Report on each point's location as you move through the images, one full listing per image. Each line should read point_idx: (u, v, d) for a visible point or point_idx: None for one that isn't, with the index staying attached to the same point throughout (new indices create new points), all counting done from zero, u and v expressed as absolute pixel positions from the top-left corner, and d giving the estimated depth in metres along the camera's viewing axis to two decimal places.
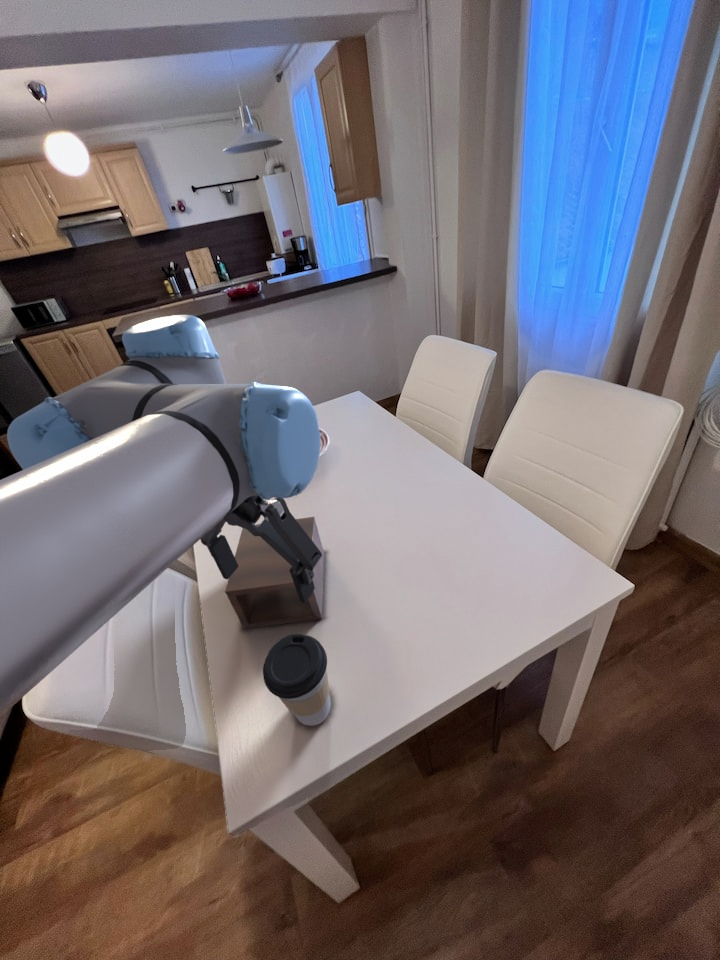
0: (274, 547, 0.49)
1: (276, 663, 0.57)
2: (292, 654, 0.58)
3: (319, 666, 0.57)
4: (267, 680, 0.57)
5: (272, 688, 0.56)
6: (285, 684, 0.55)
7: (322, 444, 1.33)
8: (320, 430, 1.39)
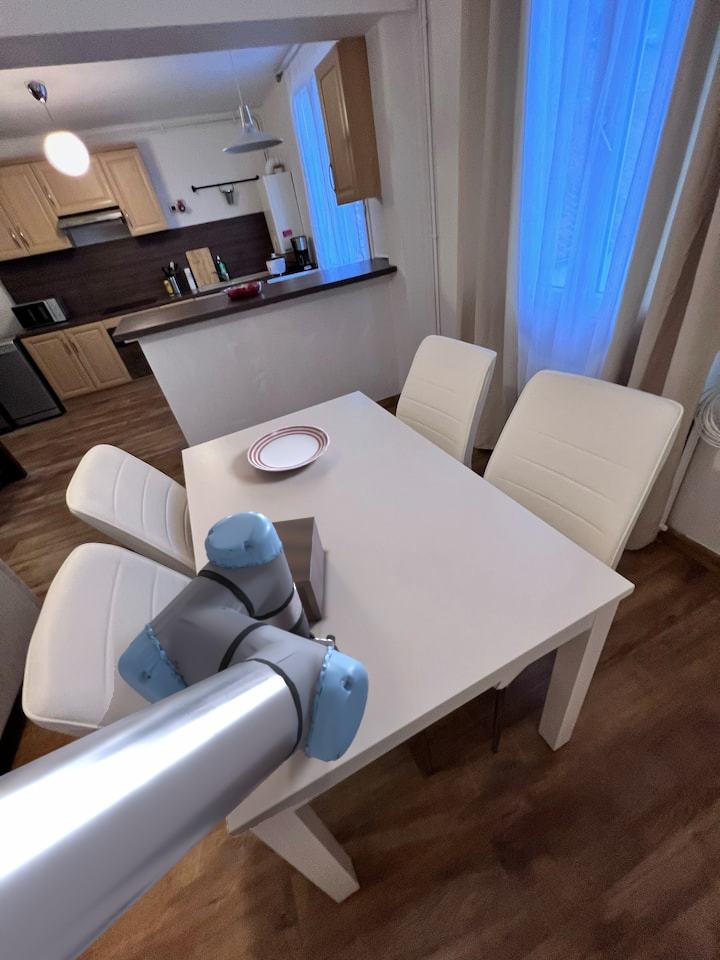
0: None
1: None
2: None
3: None
4: None
5: None
6: None
7: (322, 444, 1.33)
8: (320, 430, 1.39)
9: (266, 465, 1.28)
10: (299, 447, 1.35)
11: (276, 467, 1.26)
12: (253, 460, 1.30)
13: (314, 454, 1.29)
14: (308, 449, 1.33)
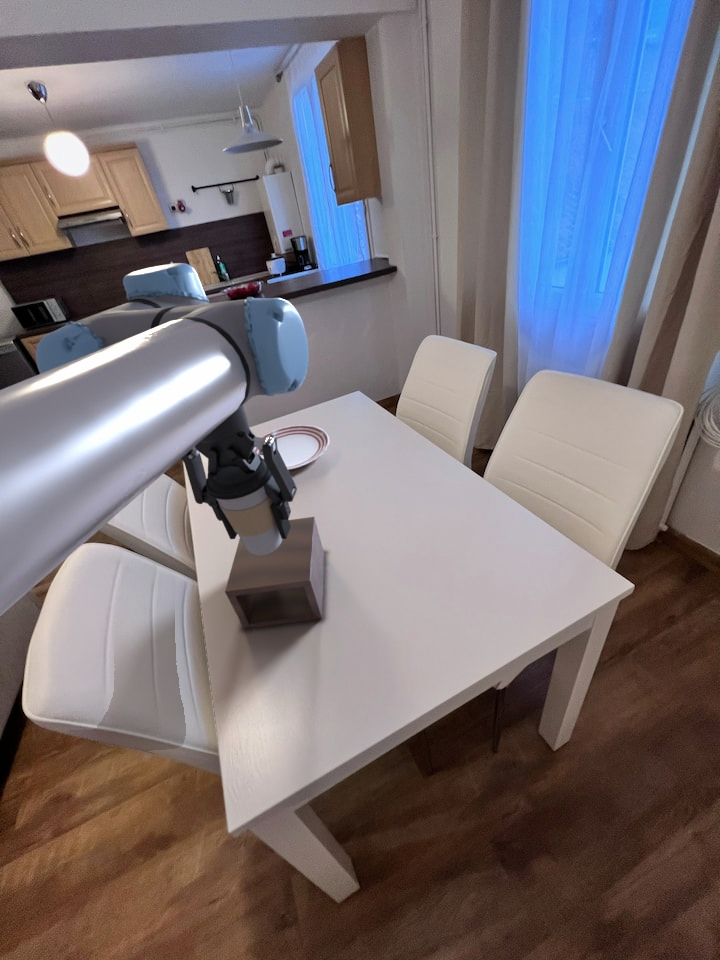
0: None
1: (219, 472, 0.56)
2: None
3: (262, 473, 0.56)
4: (209, 486, 0.56)
5: (213, 491, 0.55)
6: (225, 483, 0.54)
7: (322, 444, 1.33)
8: (320, 430, 1.39)
9: None
10: (299, 447, 1.35)
11: None
12: None
13: (314, 454, 1.29)
14: (308, 449, 1.33)
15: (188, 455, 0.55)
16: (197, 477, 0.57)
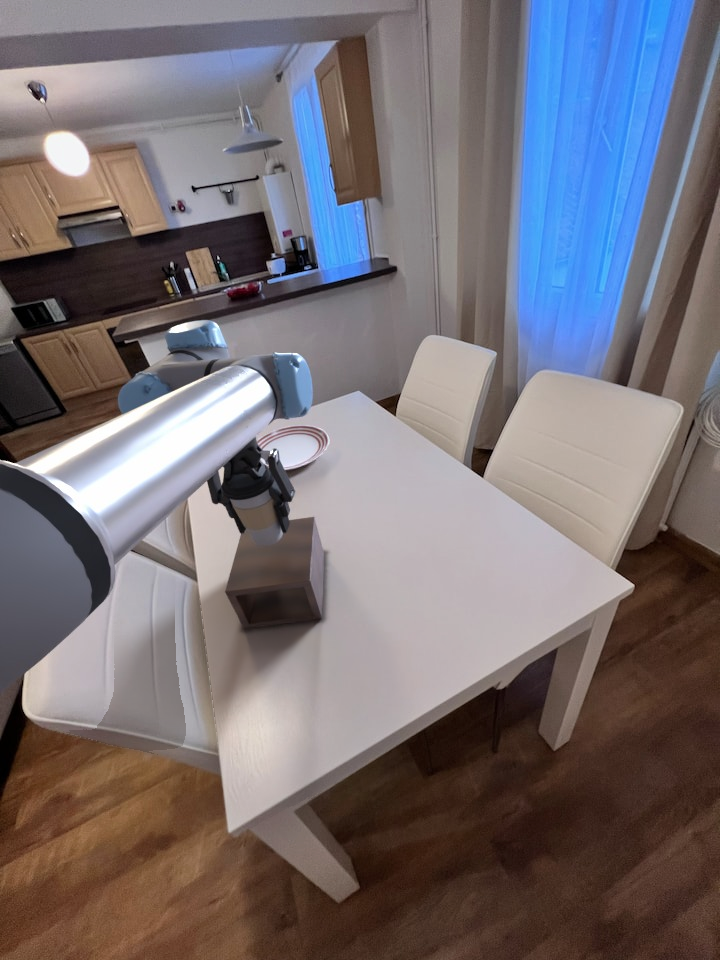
0: None
1: (232, 478, 0.70)
2: None
3: (267, 479, 0.69)
4: (224, 489, 0.69)
5: (227, 493, 0.68)
6: (238, 487, 0.67)
7: (322, 444, 1.33)
8: (320, 430, 1.39)
9: (266, 465, 1.28)
10: (299, 447, 1.35)
11: None
12: None
13: (314, 454, 1.29)
14: (308, 449, 1.33)
15: None
16: (214, 482, 0.71)
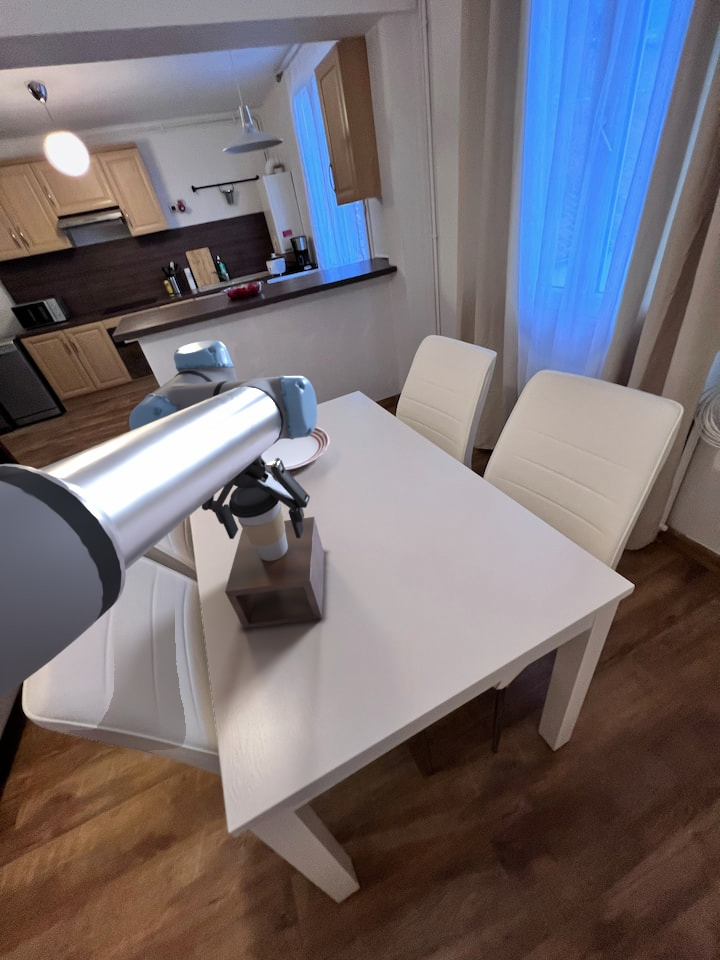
0: (276, 496, 0.70)
1: (239, 496, 0.72)
2: (252, 490, 0.73)
3: (273, 497, 0.72)
4: (231, 507, 0.71)
5: (235, 511, 0.70)
6: (245, 505, 0.69)
7: (322, 444, 1.33)
8: (320, 430, 1.39)
9: None
10: (299, 447, 1.35)
11: None
12: None
13: (314, 454, 1.29)
14: (308, 449, 1.33)
15: None
16: None
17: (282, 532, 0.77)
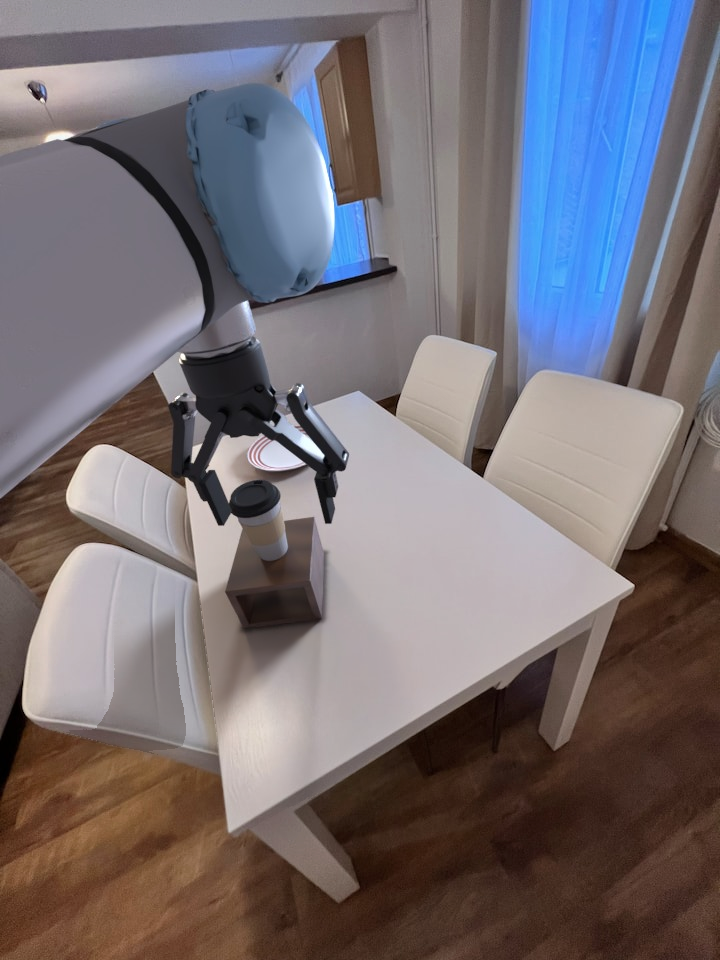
0: (295, 451, 0.42)
1: (239, 496, 0.72)
2: (252, 490, 0.73)
3: (273, 497, 0.72)
4: (231, 507, 0.71)
5: (235, 511, 0.70)
6: (245, 505, 0.69)
7: None
8: None
9: (266, 465, 1.28)
10: None
11: (276, 467, 1.26)
12: (253, 460, 1.30)
13: None
14: None
15: (183, 414, 0.41)
16: (184, 444, 0.43)
17: (282, 532, 0.77)
